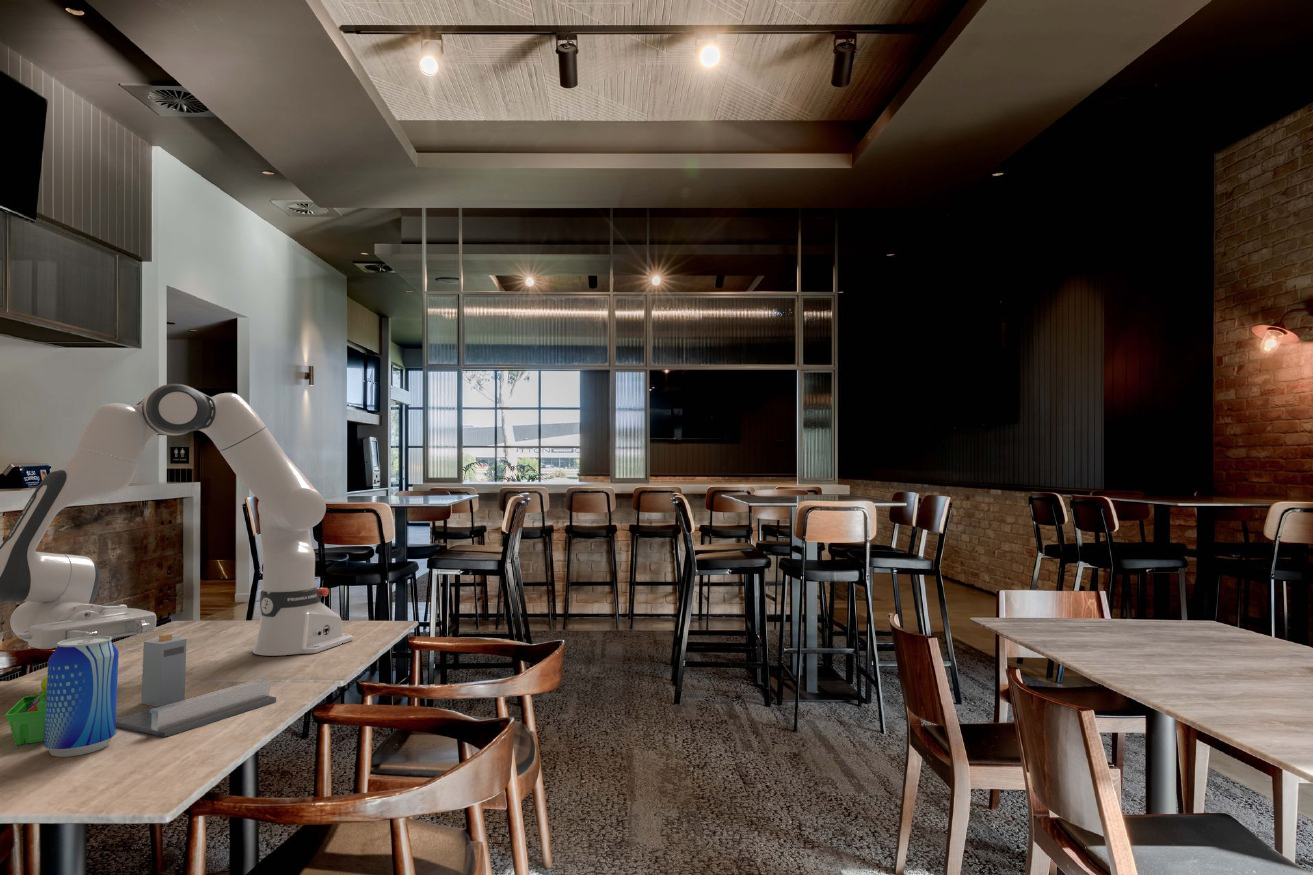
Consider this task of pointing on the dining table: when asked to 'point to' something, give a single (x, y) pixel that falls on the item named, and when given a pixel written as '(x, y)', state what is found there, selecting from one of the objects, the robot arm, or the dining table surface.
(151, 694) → the module
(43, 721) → the fruit basket
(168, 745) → the dining table surface
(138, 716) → the rail plate
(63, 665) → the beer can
